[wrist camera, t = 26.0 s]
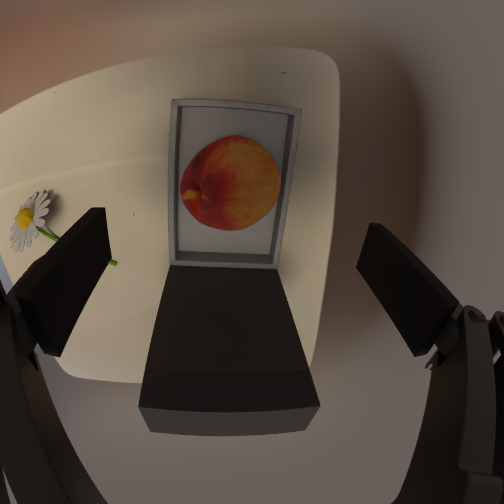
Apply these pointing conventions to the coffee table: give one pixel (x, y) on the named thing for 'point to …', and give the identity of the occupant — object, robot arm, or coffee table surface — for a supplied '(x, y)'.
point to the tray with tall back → (227, 297)
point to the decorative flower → (32, 222)
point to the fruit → (230, 184)
